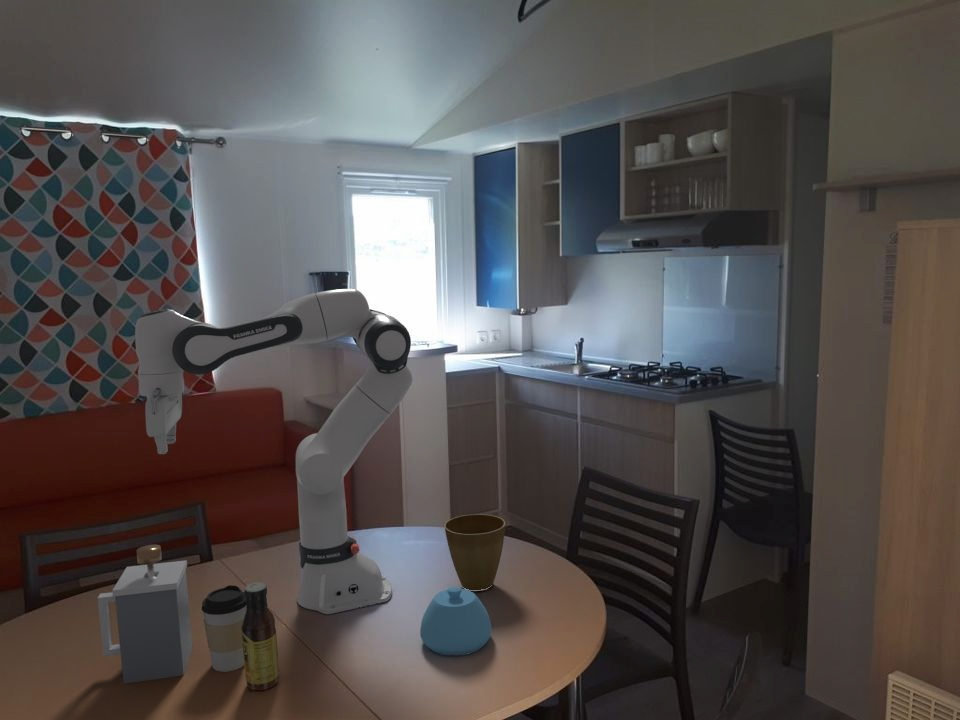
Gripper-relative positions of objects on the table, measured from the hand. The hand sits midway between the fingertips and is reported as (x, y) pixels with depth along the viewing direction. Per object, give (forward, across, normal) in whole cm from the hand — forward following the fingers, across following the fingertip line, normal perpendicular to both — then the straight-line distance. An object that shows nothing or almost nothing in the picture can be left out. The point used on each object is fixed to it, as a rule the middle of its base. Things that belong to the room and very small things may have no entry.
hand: (167, 448), depth 162 cm
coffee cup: (+41, -19, -12) cm, 47 cm away
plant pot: (+41, +2, -68) cm, 80 cm away
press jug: (+41, -16, +4) cm, 44 cm away
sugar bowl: (+41, -23, -58) cm, 75 cm away
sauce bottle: (+41, -29, -19) cm, 54 cm away
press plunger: (+38, -16, +2) cm, 41 cm away
